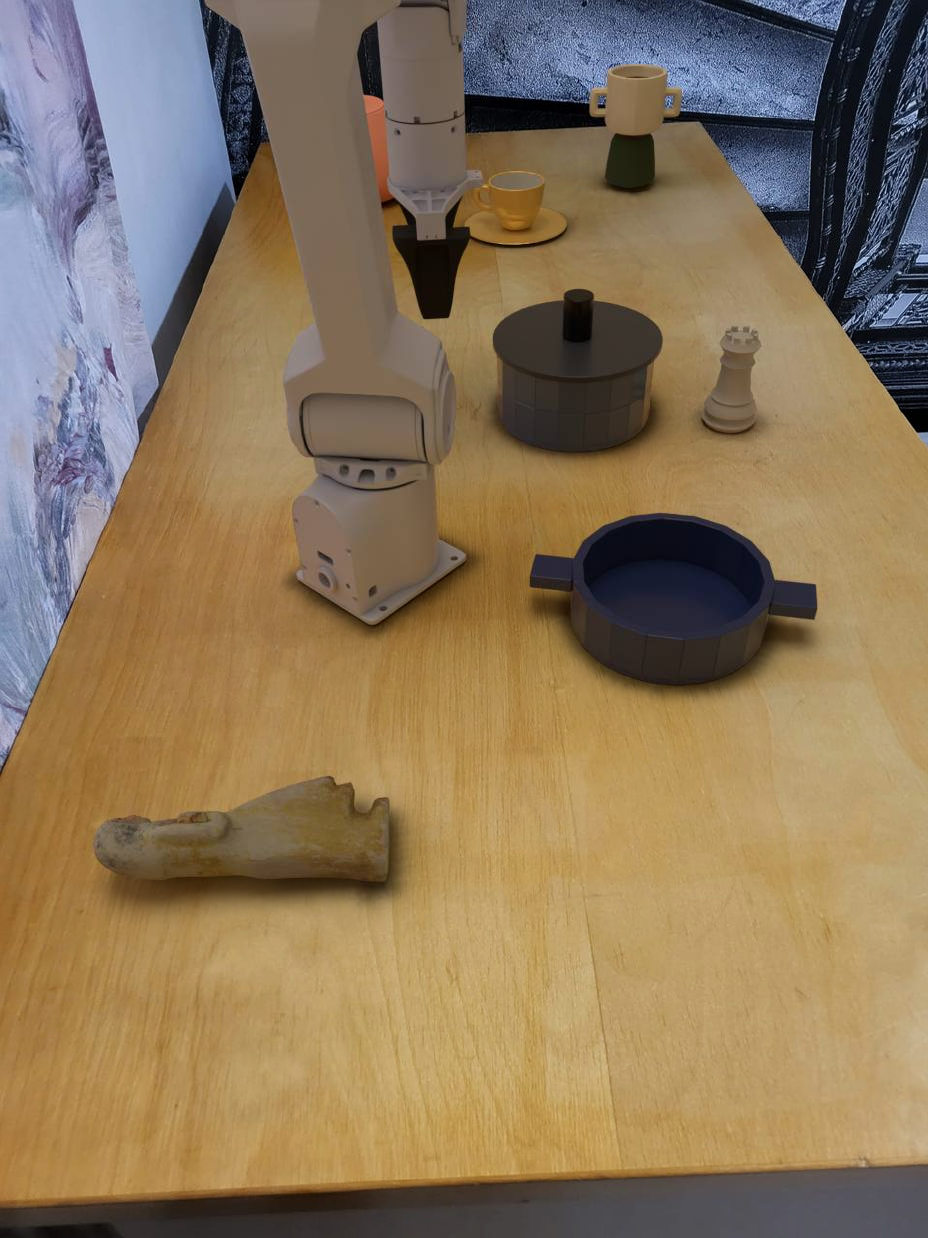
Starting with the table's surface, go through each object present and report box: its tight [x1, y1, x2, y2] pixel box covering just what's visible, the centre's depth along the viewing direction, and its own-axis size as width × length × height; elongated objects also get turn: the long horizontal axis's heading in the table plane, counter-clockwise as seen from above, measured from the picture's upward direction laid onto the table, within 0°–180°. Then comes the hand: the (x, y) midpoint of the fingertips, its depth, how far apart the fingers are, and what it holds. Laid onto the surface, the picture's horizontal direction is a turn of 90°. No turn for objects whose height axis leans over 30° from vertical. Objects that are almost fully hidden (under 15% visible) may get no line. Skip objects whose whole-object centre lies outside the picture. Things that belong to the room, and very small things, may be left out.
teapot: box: [363, 94, 395, 203], centre depth 125 cm, size 22×15×12 cm
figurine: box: [92, 775, 391, 883], centre depth 52 cm, size 5×5×15 cm
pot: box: [496, 355, 655, 453], centre depth 84 cm, size 13×13×6 cm
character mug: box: [589, 63, 683, 189], centre depth 124 cm, size 11×7×13 cm, turn 83°
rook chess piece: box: [701, 324, 762, 434], centre depth 82 cm, size 4×4×8 cm
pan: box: [528, 512, 818, 686], centre depth 65 cm, size 13×18×4 cm
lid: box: [492, 288, 664, 383], centre depth 81 cm, size 14×14×5 cm
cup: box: [463, 170, 568, 245], centre depth 116 cm, size 12×12×5 cm
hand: (434, 295), depth 81 cm, fingers open, 7 cm apart
